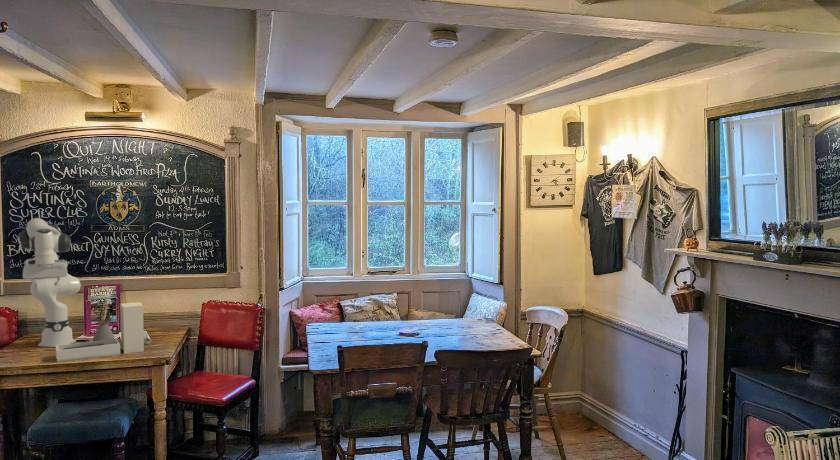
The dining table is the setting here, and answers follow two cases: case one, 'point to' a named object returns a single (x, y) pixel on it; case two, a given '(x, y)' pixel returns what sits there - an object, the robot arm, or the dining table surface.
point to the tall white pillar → (132, 327)
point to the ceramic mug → (146, 338)
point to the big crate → (87, 350)
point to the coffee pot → (103, 330)
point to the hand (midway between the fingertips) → (45, 286)
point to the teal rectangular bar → (83, 346)
